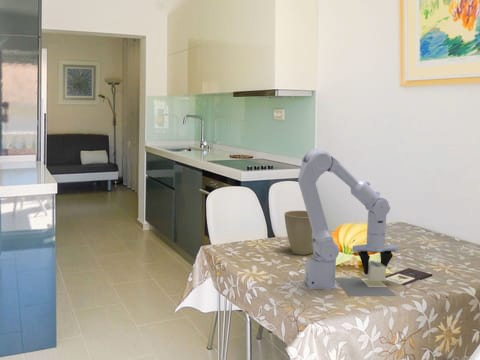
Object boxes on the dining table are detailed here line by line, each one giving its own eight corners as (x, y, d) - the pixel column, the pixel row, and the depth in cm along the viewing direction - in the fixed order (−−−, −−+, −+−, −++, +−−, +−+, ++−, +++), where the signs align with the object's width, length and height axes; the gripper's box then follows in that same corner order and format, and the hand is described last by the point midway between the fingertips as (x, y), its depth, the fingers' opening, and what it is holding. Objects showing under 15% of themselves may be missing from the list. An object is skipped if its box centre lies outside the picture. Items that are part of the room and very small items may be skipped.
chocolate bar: (432, 274, 171) (404, 285, 159) (432, 276, 171) (404, 287, 160) (408, 267, 178) (380, 277, 166) (408, 270, 178) (380, 280, 166)
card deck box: (363, 273, 164) (363, 260, 164) (377, 273, 165) (378, 260, 164) (370, 280, 157) (370, 267, 157) (385, 280, 158) (386, 266, 157)
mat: (348, 297, 149) (348, 296, 148) (333, 279, 165) (333, 277, 165) (396, 297, 150) (396, 295, 150) (376, 278, 167) (376, 277, 167)
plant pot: (327, 255, 194) (329, 215, 192) (296, 259, 188) (297, 218, 186) (306, 246, 208) (308, 209, 205) (276, 249, 201) (277, 211, 199)
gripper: (358, 236, 155) (356, 277, 156) (402, 235, 156) (400, 277, 158) (351, 230, 162) (349, 270, 163) (394, 230, 163) (391, 270, 165)
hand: (374, 273), depth 161 cm, fingers closed on card deck box, 5 cm apart
